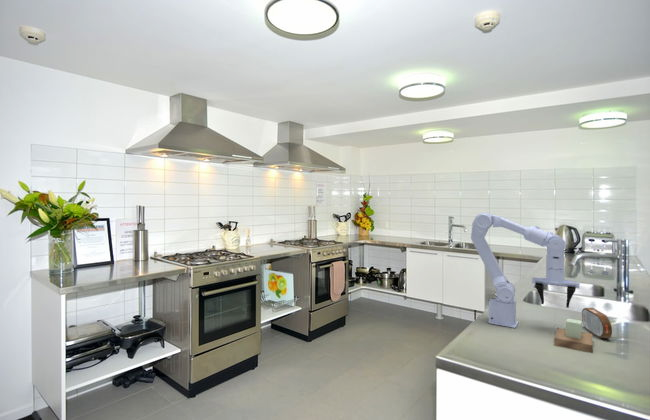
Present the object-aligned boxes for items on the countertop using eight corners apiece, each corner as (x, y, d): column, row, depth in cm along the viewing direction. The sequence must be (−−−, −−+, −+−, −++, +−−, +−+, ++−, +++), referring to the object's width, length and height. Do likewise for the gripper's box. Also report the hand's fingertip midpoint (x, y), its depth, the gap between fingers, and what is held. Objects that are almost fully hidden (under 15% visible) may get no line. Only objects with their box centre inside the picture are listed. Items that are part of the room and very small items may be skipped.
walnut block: (554, 347, 117) (554, 338, 117) (557, 336, 126) (557, 327, 126) (592, 354, 111) (592, 345, 111) (592, 342, 120) (592, 333, 120)
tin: (613, 342, 119) (613, 317, 119) (602, 341, 120) (602, 316, 120) (589, 327, 134) (589, 305, 134) (579, 326, 135) (580, 304, 135)
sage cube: (565, 336, 118) (566, 321, 118) (567, 332, 121) (567, 318, 121) (580, 339, 116) (580, 324, 115) (581, 335, 119) (581, 320, 119)
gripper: (531, 267, 131) (530, 304, 131) (579, 272, 122) (579, 311, 122) (533, 265, 136) (533, 300, 137) (579, 269, 128) (579, 306, 128)
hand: (554, 305), depth 130 cm, fingers open, 7 cm apart
